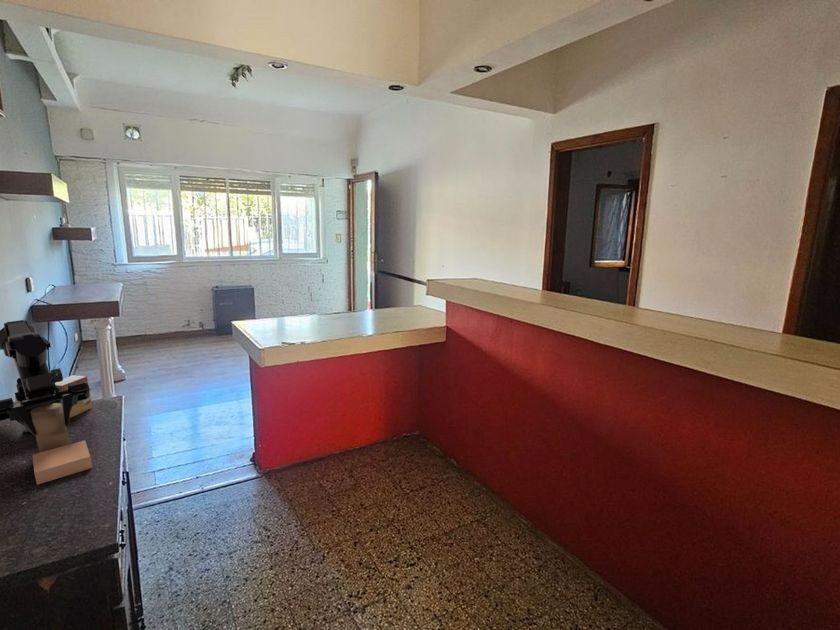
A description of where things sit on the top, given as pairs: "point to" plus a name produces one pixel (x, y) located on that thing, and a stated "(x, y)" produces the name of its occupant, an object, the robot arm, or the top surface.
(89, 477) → the top surface
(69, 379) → the small box
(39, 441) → the beige tall cylinder
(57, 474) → the terracotta plinth
